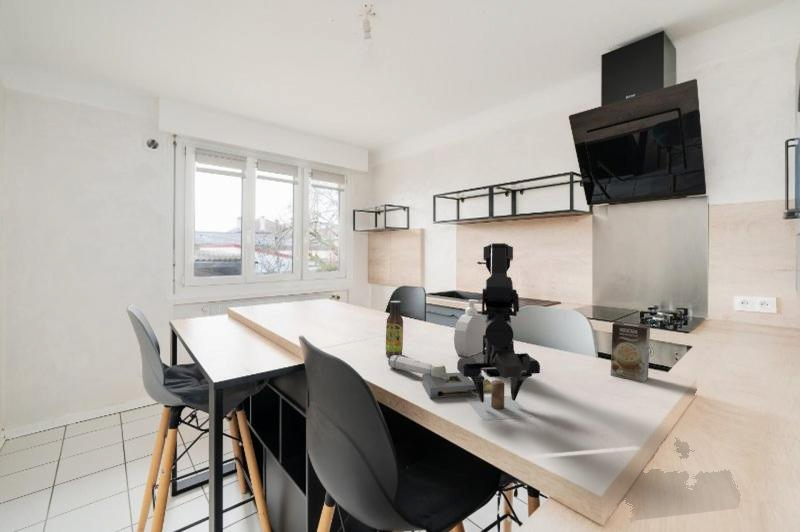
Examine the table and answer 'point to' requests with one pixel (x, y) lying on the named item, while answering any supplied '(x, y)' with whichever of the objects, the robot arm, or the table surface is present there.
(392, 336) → the sauce bottle
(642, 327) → the coffee box
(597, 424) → the table surface
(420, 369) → the white long cylinder
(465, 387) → the grey block with slider
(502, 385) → the walnut peg
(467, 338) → the soap bottle
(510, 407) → the grey mat
